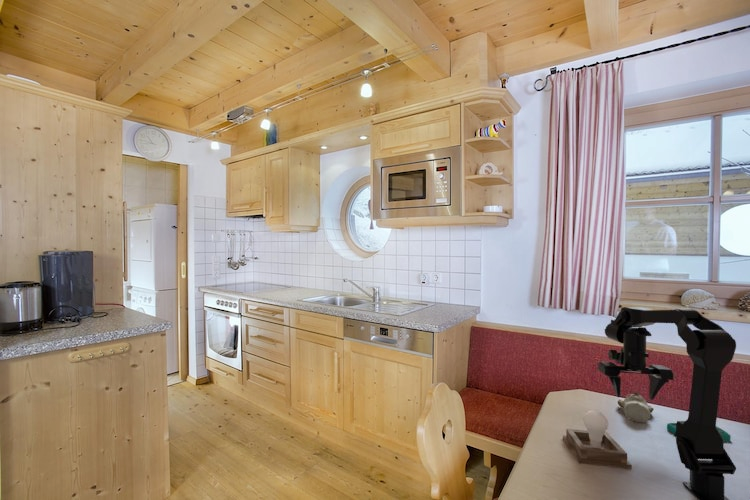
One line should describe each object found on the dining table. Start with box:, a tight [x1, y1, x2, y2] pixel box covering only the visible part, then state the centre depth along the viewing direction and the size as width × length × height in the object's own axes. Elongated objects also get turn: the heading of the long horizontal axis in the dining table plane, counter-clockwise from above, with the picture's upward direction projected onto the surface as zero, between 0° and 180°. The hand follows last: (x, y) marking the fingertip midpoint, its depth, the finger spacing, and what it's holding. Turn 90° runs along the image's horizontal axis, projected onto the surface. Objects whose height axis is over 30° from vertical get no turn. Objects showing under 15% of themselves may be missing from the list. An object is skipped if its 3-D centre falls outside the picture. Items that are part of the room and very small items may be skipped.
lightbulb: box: [582, 409, 609, 448], centre depth 102 cm, size 6×6×11 cm
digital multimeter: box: [666, 422, 731, 442], centre depth 112 cm, size 7×15×3 cm, turn 91°
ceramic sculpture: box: [617, 392, 654, 423], centre depth 125 cm, size 11×9×15 cm
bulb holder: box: [562, 428, 633, 470], centre depth 102 cm, size 13×13×4 cm
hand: (634, 398), depth 109 cm, fingers open, 9 cm apart
